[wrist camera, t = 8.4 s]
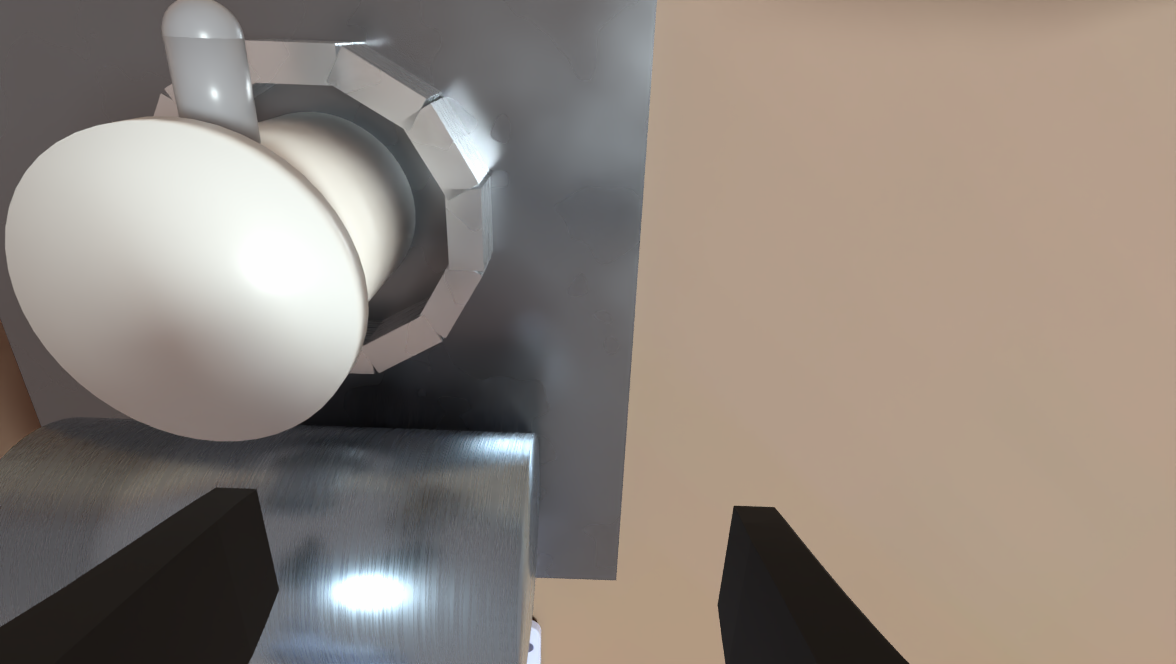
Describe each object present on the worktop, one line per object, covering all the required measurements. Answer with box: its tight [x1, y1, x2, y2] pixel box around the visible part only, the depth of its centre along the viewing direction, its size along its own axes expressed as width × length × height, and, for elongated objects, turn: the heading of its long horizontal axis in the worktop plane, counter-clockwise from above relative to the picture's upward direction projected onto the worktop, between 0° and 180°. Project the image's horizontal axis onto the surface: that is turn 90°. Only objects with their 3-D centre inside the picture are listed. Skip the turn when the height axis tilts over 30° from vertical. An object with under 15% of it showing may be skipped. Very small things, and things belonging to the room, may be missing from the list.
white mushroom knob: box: [5, 0, 415, 441], centre depth 13 cm, size 7×6×6 cm
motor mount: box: [0, 0, 657, 664], centre depth 15 cm, size 18×17×7 cm
